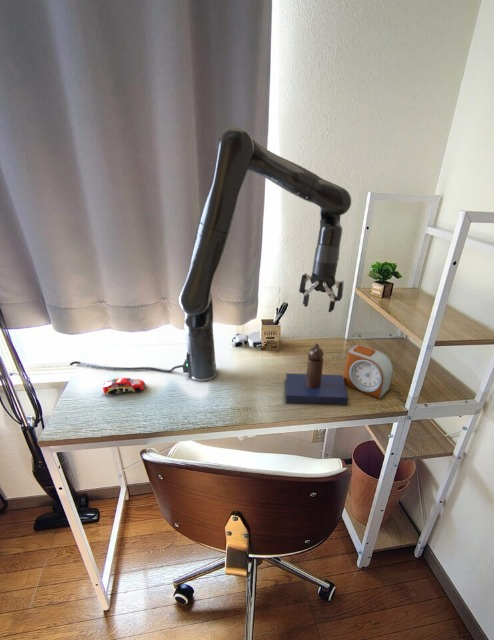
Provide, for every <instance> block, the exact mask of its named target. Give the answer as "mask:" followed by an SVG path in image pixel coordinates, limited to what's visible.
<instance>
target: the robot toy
mask: <svg viewBox="0 0 494 640" xmlns="http://www.w3.org/2000/svg"><path fill="white" fill-rule="evenodd" d="M260 332H261V331H252V332H251V333H250V334H249V335H248V334H243V333H234V334H233V338H232V339H231V342H232V343H231V346H230V347H231V348H235V349H236V348H242V347H245V346H249V347H250V348H252V349H257V350H259V349H262V348H263V347H262V345H264V344H266V343H264V344H262V343H261V338H260ZM236 334H237V335H236ZM261 347H262V348H261Z"/></svg>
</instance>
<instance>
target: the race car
mask: <svg viewBox="0 0 494 640" xmlns="http://www.w3.org/2000/svg"><path fill="white" fill-rule="evenodd" d="M145 388H146V382H145V381H144V380H143V379H139V378H131V377H116V378H113V379H109V380H106V381H105V382H104V383H103V386H102V391H103V394H106V395H111V396H115V395H117V394H127V393H140V392H141V391H143V390H145Z"/></svg>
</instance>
